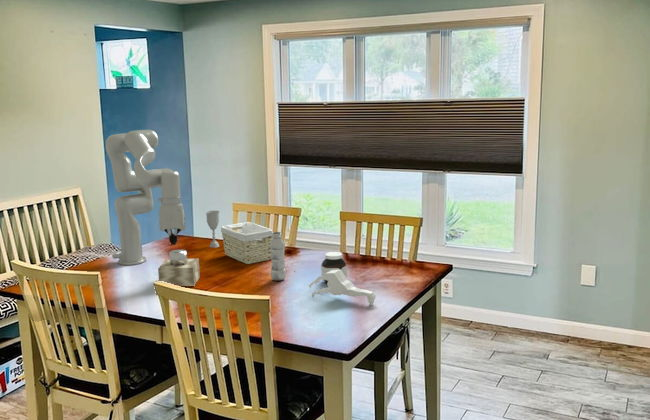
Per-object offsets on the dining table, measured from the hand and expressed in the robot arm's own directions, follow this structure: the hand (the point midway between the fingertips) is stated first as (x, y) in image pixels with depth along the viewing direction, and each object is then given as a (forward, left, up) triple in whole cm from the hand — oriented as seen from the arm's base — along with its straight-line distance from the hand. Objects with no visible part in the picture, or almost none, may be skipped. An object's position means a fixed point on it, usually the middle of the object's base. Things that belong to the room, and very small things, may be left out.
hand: (173, 243), depth 256 cm
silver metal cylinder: (+2, -4, -14) cm, 15 cm away
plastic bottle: (+43, -6, -16) cm, 47 cm away
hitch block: (+2, -4, -15) cm, 16 cm away
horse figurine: (+68, -34, -16) cm, 78 cm away
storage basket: (+28, +31, -16) cm, 45 cm away
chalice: (+8, +56, -16) cm, 58 cm away
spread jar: (+66, -9, -16) cm, 69 cm away
